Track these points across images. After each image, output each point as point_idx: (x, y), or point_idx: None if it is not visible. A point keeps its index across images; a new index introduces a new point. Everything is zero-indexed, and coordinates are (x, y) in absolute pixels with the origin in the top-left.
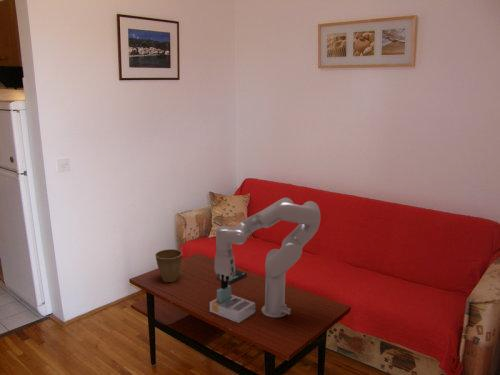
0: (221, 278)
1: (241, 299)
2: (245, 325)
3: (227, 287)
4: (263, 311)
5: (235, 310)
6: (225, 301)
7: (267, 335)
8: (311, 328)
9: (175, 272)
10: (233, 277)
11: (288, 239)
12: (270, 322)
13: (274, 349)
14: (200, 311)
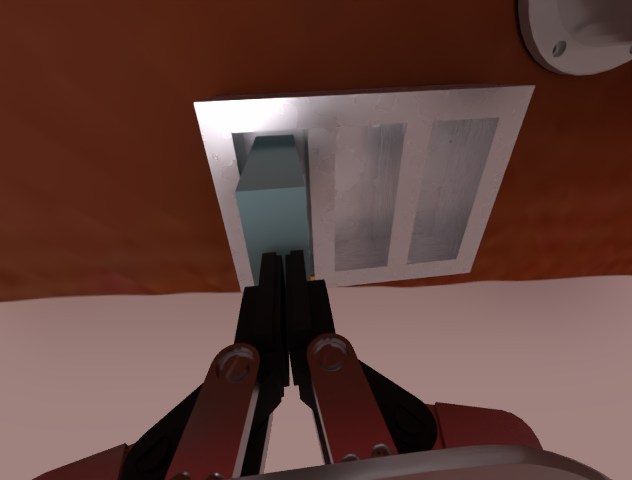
0: (267, 427)
1: (397, 117)
2: None
3: (300, 244)
4: (552, 54)
5: (437, 263)
6: (313, 229)
7: (590, 228)
8: None
9: None
10: (524, 427)
11: None
12: (597, 123)
13: (624, 273)
14: (214, 283)
